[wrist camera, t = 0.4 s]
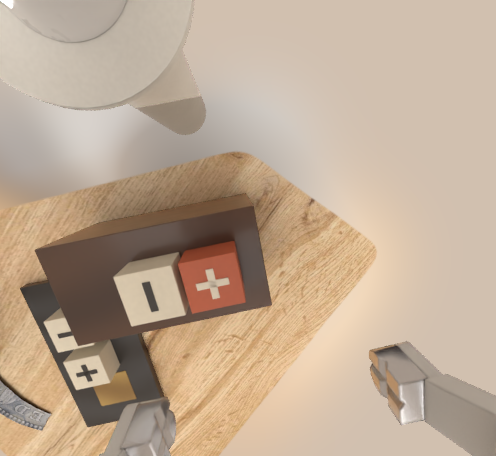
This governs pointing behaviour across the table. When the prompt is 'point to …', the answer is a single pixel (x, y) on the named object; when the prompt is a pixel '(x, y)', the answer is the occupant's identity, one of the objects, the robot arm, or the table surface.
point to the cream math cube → (92, 365)
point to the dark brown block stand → (142, 247)
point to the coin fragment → (21, 410)
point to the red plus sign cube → (212, 277)
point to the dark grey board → (125, 379)
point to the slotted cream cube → (152, 289)
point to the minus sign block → (61, 332)
